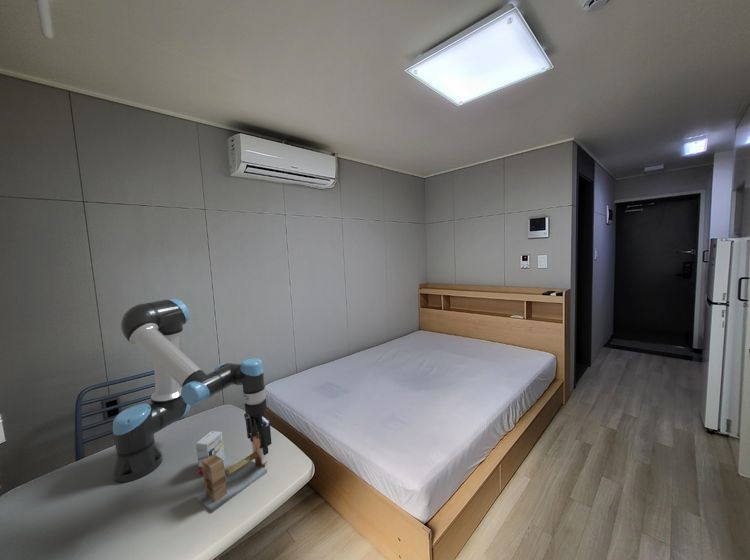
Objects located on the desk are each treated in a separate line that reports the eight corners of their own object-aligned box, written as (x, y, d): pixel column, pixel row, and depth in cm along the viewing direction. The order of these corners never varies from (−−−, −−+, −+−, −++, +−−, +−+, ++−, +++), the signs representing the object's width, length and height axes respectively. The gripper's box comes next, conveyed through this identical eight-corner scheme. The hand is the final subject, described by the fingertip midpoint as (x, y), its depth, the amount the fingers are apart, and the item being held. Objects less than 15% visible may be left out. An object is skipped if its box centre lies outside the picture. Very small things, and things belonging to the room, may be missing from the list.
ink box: (209, 474, 111) (206, 444, 110) (198, 473, 112) (195, 443, 111) (225, 458, 120) (222, 431, 119) (215, 457, 121) (211, 430, 120)
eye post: (197, 498, 100) (192, 462, 99) (251, 462, 116) (248, 431, 115) (212, 512, 94) (207, 473, 93) (267, 472, 111) (263, 439, 110)
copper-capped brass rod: (224, 482, 105) (221, 454, 104) (263, 456, 117) (260, 431, 117) (231, 487, 102) (228, 458, 101) (270, 460, 115) (267, 434, 114)
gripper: (233, 399, 114) (239, 457, 116) (260, 411, 104) (266, 474, 106) (250, 391, 120) (256, 446, 122) (278, 401, 110) (283, 461, 112)
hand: (261, 459), depth 114 cm, fingers closed on copper-capped brass rod, 4 cm apart
